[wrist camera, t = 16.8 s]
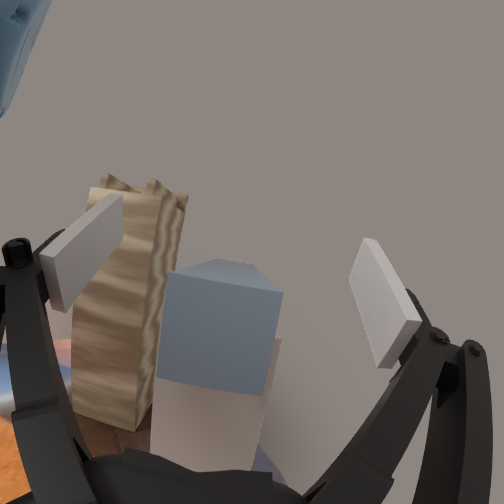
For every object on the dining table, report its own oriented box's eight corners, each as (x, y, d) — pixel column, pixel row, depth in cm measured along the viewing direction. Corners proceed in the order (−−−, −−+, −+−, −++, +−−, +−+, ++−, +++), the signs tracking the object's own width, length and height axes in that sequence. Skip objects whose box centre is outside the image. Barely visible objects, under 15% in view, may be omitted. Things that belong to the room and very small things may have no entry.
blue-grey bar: (262, 396, 11) (283, 292, 11) (155, 377, 10) (168, 272, 10) (246, 300, 35) (253, 264, 35) (211, 293, 34) (217, 258, 34)
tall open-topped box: (134, 432, 35) (167, 172, 35) (72, 411, 35) (96, 164, 35) (160, 388, 51) (188, 196, 51) (110, 375, 51) (134, 188, 51)
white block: (232, 537, 19) (281, 339, 20) (150, 522, 19) (161, 317, 19) (233, 479, 29) (268, 311, 30) (167, 468, 29) (186, 296, 29)
